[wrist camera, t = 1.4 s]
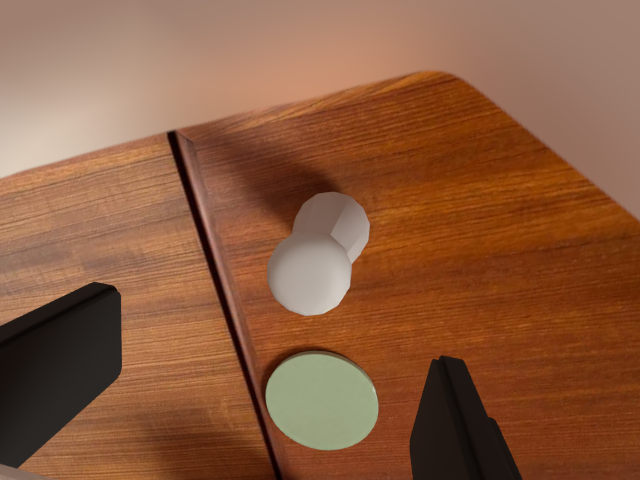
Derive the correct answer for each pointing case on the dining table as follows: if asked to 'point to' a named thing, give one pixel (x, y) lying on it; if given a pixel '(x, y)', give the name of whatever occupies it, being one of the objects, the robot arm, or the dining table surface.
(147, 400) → the dining table surface
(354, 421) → the coaster
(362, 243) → the salt shaker
